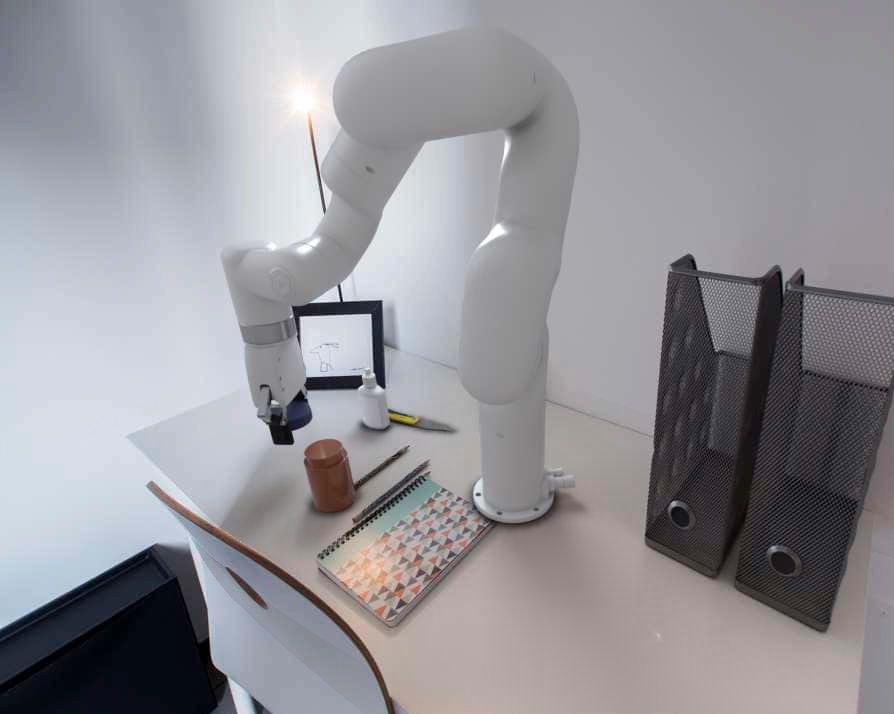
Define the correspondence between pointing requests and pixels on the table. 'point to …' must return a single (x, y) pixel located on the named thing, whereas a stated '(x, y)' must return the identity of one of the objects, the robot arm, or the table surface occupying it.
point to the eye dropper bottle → (373, 402)
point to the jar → (329, 475)
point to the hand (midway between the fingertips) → (293, 430)
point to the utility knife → (413, 421)
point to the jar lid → (297, 414)
